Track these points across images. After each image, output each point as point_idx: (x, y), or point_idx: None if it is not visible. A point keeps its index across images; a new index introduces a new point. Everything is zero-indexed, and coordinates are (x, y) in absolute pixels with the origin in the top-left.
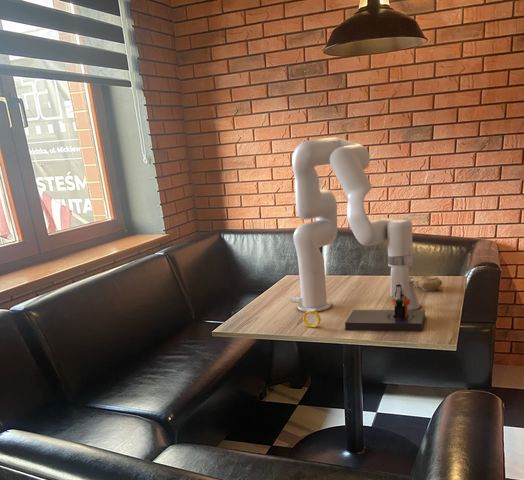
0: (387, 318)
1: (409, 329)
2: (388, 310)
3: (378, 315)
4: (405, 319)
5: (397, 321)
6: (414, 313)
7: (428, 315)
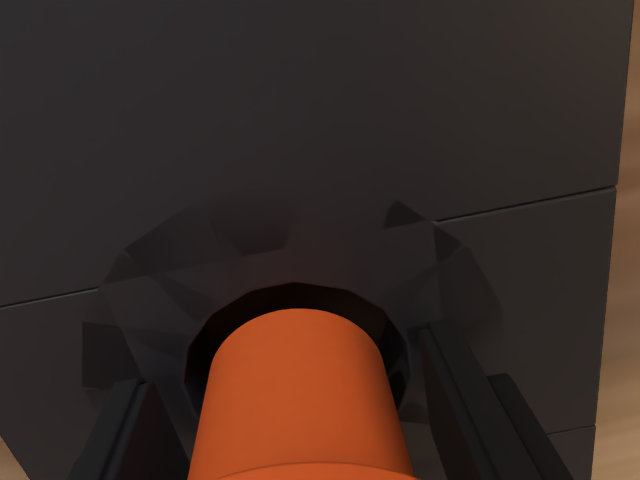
0: (142, 244)
1: None
2: (600, 109)
3: (260, 21)
4: (188, 458)
5: (68, 406)
6: None
7: (605, 456)
